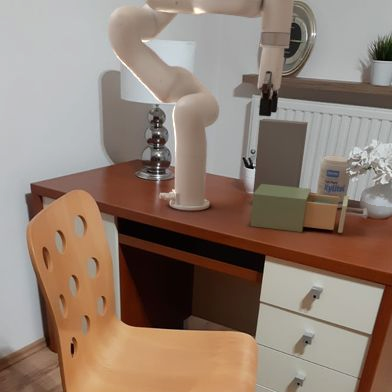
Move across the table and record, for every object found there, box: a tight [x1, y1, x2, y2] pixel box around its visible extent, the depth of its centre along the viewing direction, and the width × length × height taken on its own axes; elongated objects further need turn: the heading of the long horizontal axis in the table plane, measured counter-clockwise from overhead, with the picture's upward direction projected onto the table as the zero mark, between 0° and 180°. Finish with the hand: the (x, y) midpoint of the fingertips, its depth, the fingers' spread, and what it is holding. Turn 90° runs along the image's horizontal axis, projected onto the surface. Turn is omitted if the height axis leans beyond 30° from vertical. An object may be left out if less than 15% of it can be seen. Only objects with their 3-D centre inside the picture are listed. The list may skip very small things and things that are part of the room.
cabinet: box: [250, 184, 312, 233], centre depth 150 cm, size 15×13×9 cm
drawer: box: [303, 193, 369, 234], centre depth 147 cm, size 19×11×7 cm, turn 74°
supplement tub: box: [315, 155, 351, 209], centre depth 167 cm, size 10×10×15 cm
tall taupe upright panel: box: [251, 118, 309, 204], centre depth 163 cm, size 14×6×25 cm, turn 68°
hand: (267, 114), depth 143 cm, fingers open, 9 cm apart
